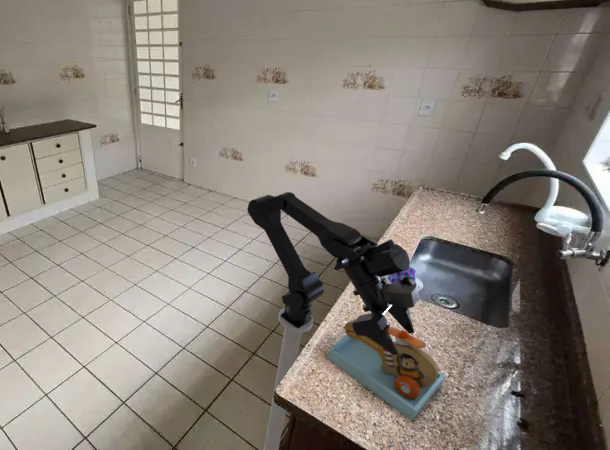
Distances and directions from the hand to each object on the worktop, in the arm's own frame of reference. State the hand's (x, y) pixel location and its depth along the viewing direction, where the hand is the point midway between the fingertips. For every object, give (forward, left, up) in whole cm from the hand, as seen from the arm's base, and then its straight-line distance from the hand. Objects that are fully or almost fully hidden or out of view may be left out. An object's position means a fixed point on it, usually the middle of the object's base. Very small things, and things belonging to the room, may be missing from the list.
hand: (404, 343), depth 77 cm
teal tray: (-2, +1, -12) cm, 12 cm away
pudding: (-16, +41, -12) cm, 46 cm away
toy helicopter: (-2, +1, -11) cm, 12 cm away
